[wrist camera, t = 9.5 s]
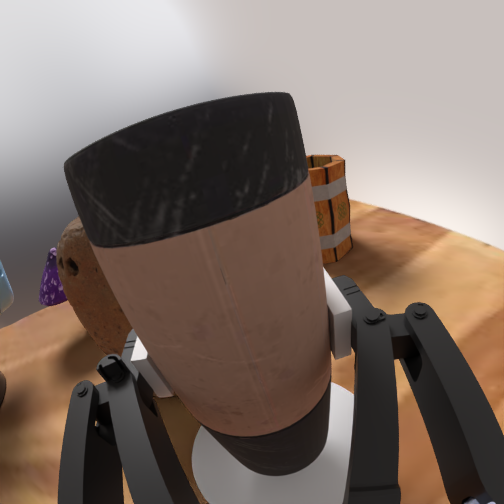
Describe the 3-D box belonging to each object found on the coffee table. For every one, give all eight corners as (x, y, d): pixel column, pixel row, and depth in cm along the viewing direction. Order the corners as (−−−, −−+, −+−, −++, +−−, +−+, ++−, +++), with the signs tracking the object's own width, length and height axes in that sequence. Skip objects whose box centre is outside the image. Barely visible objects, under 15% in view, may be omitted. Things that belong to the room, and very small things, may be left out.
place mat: (166, 498, 15) (164, 497, 15) (229, 370, 28) (228, 368, 28) (361, 540, 9) (362, 540, 9) (382, 380, 22) (383, 377, 22)
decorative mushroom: (55, 345, 37) (10, 273, 30) (88, 303, 47) (54, 237, 41) (100, 351, 34) (47, 265, 27) (133, 301, 45) (98, 223, 38)
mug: (368, 247, 44) (363, 159, 37) (299, 276, 41) (283, 179, 34) (312, 215, 61) (301, 150, 54) (256, 234, 58) (240, 165, 51)
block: (217, 342, 32) (157, 182, 23) (226, 389, 26) (146, 201, 17) (138, 362, 31) (61, 220, 22) (135, 408, 25) (26, 250, 16)
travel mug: (273, 499, 12) (46, 152, 3) (209, 433, 18) (62, 170, 9) (353, 428, 16) (348, 86, 7) (282, 379, 21) (215, 117, 12)
